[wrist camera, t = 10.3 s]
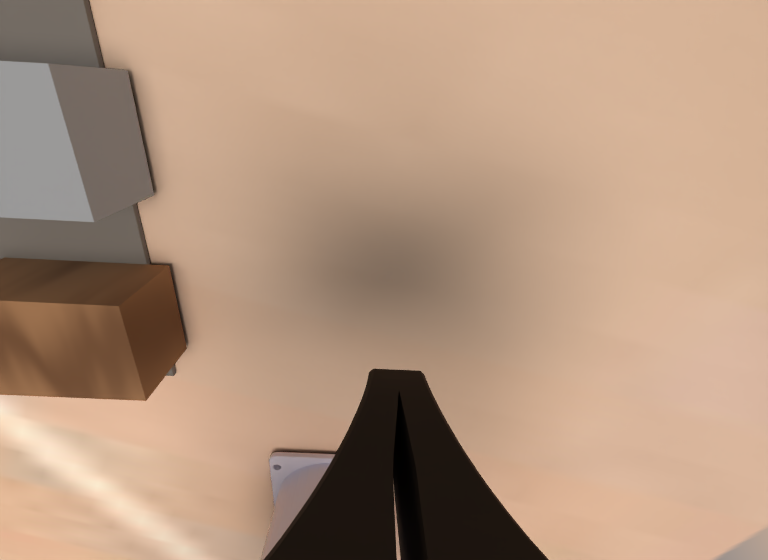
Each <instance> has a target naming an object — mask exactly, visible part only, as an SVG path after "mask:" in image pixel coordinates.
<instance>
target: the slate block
mask: <svg viewBox="0 0 768 560" xmlns="http://www.w3.org/2000/svg"><path fill="white" fill-rule="evenodd" d="M153 195H154V192H153V187H152V183H151V178H150V173H149V169H148V164H147V159H146V154H145V150H144V145H143V140H142V136H141V131H140V126H139V122H138V117H137V112H136V108H135V103H134V98H133V93H132V89H131V84H130V79H129V75H128V70H121V69H109V68H97V67H84V66H72V65H59V64H47V63H30V62H12V61H0V217H3V218H22V219H42V220H62V221H81V222H96V221H98V220H100V219H102V218H105V217H107V216H109V215H111V214H113V213H116V212H118V211H120V210H122V209H125V208H127V207H129V206H131V205H133V204H136V203H138V202H140V201H142V200H145V199H147V198H149V197H151V196H153Z"/></svg>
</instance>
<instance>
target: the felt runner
mask: <svg viewBox="0 0 768 560" xmlns="http://www.w3.org/2000/svg"><path fill="white" fill-rule="evenodd" d="M0 61H12V62H30V63H47V64H59V65H72V66H84V67H97V68H104V64H103V60H102V56H101V51H100V47H99V43H98V39H97V34H96V30H95V26H94V22H93V18H92V13H91V9H90V5H89V1H88V0H0ZM4 257H5V258H26V259H46V260H67V261H87V262H108V263H128V264H149V265H151V263H150V259H149V255H148V251H147V246H146V242H145V238H144V234H143V229H142V225H141V221H140V217H139V213H138V208H137V204H133V205H131V206H129V207H127V208H125V209H122V210H120V211H118V212H116V213H113V214H111V215H109V216H107V217H105V218H102V219H100V220H98V221H96V222H81V221H62V220H42V219H22V218H3V217H0V259H2V258H4ZM175 373H176V369H175V365H173V367H172V368H171V369H170V371H169V372H168V373H167V374H166V376H174V375H175Z"/></svg>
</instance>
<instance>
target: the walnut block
mask: <svg viewBox="0 0 768 560" xmlns="http://www.w3.org/2000/svg"><path fill="white" fill-rule="evenodd" d="M186 349H187V347H186V342H185V338H184V333H183V328H182V324H181V319H180V314H179V309H178V305H177V300H176V295H175V291H174V286H173V281H172V277H171V272H170V267H169V265H149V264H128V263H108V262H87V261H67V260H46V259H26V258H5V257H4V258H2V259H0V395H24V396H48V397H71V398H95V399H119V400H143V401H146V400H147V399H148V398H149V396H150V395H151V394H152V393H153V391H154V390H155V389H156V387H157V386H158V385H159V383H160V382H161V381H162V380H163V378H164V377H165V376H166V374H167V373H168V372H169V371H170V369H171V368H172V367H173V365H174V364H175V363H176V361H177V360H178V359H179V358H180V356H181V355H182V354H183V352H184V351H185V350H186Z"/></svg>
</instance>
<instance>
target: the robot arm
mask: <svg viewBox="0 0 768 560" xmlns="http://www.w3.org/2000/svg"><path fill="white" fill-rule="evenodd" d="M269 465H270V474H271V482H272V491H273V500H274V511H273V515H272V519H271V522H270V526H269V530H268V534H267V537H266V541H265V545H264V549H263V552H262V556H261V560H397V558H396V537H395V515H394V493H395V503H396V513H397V524H398V534H399V545H400V555H401V560H548V558H547V557H546V556H545V555H544V554H543V553H542V552H541V551H540V550H539V548H538V547H537V546H536V545H535V544H534V543H533V542H532V541H531V540H530V538H529V537H528V536H527V535H526V534H525V532H524V531H523V530H522V529H521V528H520V526H519V525H518V524H517V523H516V521H515V520H514V519H513V518H512V516H511V515H510V514H509V513H508V512H507V510H506V509H505V508H504V506H503V505H502V504H501V502H500V501H499V500H498V499H497V497H496V496H495V495H494V493H493V492H492V491H491V489H490V488H489V486H488V485H487V484H486V482H485V481H484V480H483V478H482V477H481V475H480V474H479V472H478V471H477V469H476V468H475V466H474V465H473V463H472V462H471V460H470V459H469V457H468V456H467V454H466V453H465V451H464V450H463V448H462V446H461V445H460V443H459V442H458V440H457V438H456V437H455V435H454V433H453V431H452V430H451V428H450V426H449V425H448V423H447V421H446V419H445V418H444V416H443V414H442V412H441V410H440V408H439V406H438V404H437V402H436V400H435V398H434V396H433V394H432V392H431V390H430V388H429V386H428V383H427V381H426V378H425V376H424V374H423V373H422V372H421V371H410V370H388V369H373V370H371V371H370V372H369V376H368V381H367V385H366V388H365V391H364V394H363V397H362V400H361V402H360V405H359V407H358V410H357V412H356V414H355V416H354V418H353V421H352V423H351V425H350V427H349V429H348V431H347V433H346V435H345V437H344V439H343V441H342V443H341V445H340V447H339V448H338V450H337V452H336V454H318V453H293V452H274V453H272V454H271V455H270V459H269ZM393 482H394V490H393Z"/></svg>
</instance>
